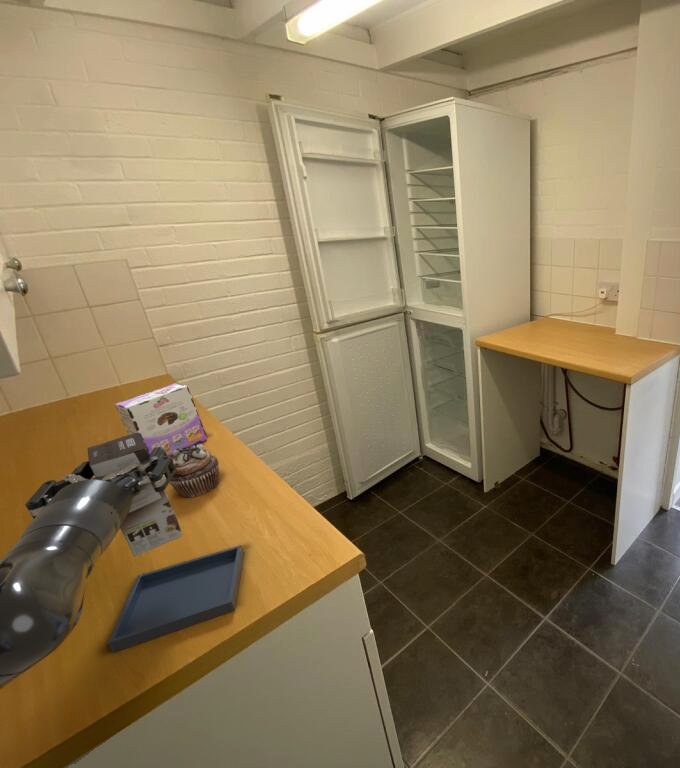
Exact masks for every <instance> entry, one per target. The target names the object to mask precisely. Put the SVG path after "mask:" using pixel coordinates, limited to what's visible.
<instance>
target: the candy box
mask: <svg viewBox="0 0 680 768" xmlns="http://www.w3.org/2000/svg"><path fill="white" fill-rule="evenodd" d="M114 406H115V408H116V410H117V412H118V414H119V417H120V419H121V421H122V423H123V426H124V428H125V430H126V432H127V435H131V434H134V433H140V435H141V437H142V439H143V441H144V443H145V445H146V447H147V449H148V451H149V454H150V453H151V452H152V450H153V449H154V448H156V447H161V449H164V450H165V452H166V454H167V456H168V455H170V456H171V457H174V456H173V451H175V450H176V449H177V448H184V447H187V446H189V445H192V444H195V443H200V444H201V443H203V442H205V441H206V440H208V439H209V437H208V434H207V433H206V430H205V427H204V425H203V421H202V420H201V417H200V415H199V412H198V409H197V407H196V404H195V402H194V398H193V397H192V394H191V391H190V389H189V386H188V385H185V384H180V383H176V382H175V383H172V384H169V385H166V386H164V387H161V388H158V389H156V390H152V391H149V392H147V393H144V394H141V395H138V396H135V397H132V398H129V399H126V400H124V401H120V402H118V403H115V404H114Z"/></svg>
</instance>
